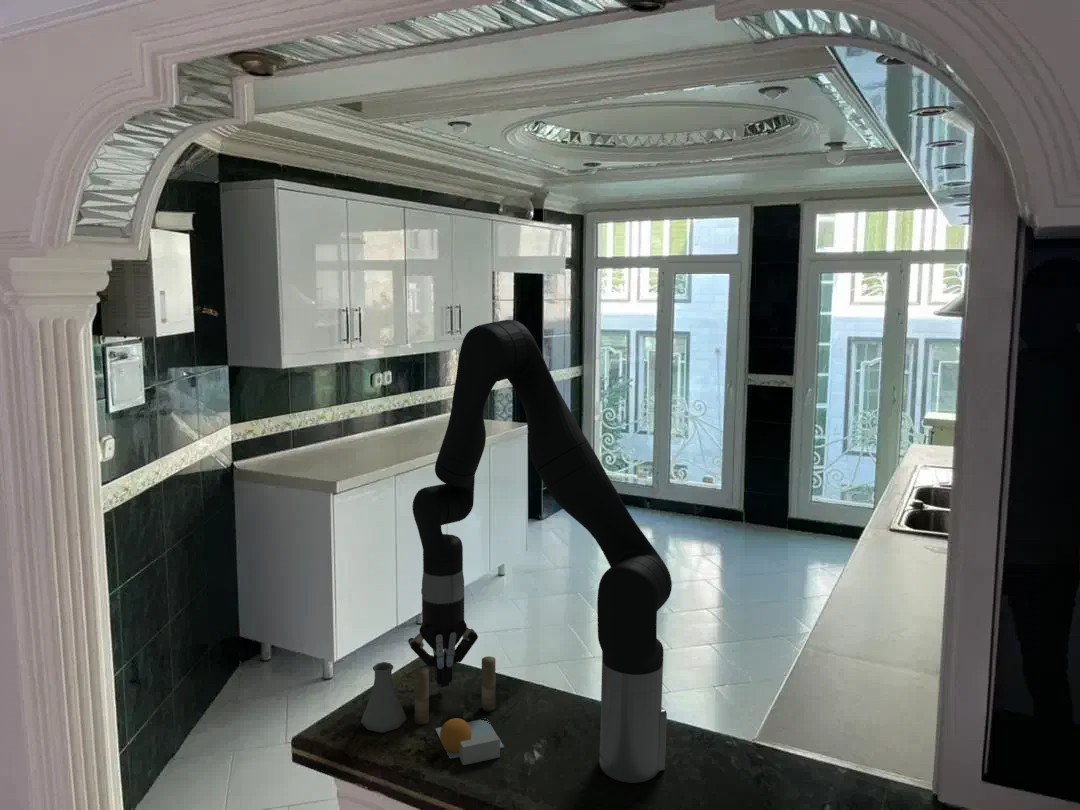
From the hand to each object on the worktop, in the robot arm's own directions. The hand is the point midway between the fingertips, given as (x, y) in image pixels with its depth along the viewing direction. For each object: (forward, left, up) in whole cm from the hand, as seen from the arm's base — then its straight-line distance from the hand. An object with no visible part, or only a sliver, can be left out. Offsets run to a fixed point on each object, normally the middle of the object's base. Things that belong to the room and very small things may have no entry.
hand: (443, 684), depth 144 cm
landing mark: (0, +16, -2) cm, 16 cm away
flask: (+12, +6, -2) cm, 14 cm away
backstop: (0, +22, -2) cm, 22 cm away
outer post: (+6, +8, -2) cm, 10 cm away
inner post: (-6, +8, -2) cm, 10 cm away
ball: (+3, +18, +1) cm, 19 cm away
